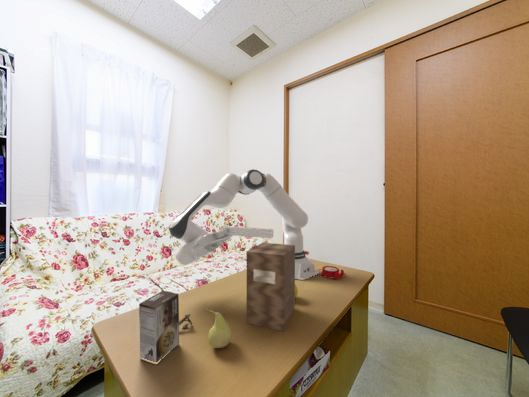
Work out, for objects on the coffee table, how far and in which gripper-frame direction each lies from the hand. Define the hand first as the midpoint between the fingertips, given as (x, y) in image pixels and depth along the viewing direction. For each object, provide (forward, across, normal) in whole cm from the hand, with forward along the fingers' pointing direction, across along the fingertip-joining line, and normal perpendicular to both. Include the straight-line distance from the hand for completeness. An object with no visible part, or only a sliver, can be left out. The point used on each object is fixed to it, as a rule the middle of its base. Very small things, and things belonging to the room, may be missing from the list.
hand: (230, 229), depth 90 cm
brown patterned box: (0, 0, +37) cm, 37 cm away
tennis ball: (+2, +16, +39) cm, 42 cm away
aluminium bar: (+5, 0, +5) cm, 8 cm away
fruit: (-8, -22, +32) cm, 40 cm away
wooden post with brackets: (-24, -20, +24) cm, 39 cm away
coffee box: (-21, -30, +25) cm, 45 cm away
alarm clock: (+16, +52, +47) cm, 72 cm away
